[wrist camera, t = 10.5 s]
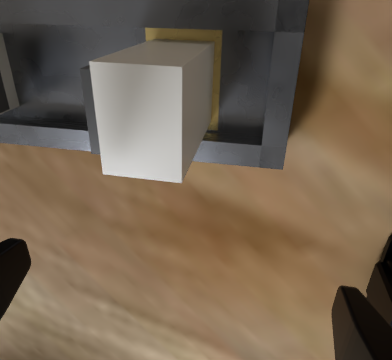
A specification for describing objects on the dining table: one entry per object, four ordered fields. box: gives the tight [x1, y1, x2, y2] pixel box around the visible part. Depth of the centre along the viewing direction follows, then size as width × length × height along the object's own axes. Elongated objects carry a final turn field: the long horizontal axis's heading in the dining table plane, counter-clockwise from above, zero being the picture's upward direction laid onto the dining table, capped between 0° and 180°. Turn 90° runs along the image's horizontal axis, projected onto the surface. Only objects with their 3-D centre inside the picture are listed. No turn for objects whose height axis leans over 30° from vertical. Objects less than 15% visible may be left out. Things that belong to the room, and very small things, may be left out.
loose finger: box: [80, 39, 215, 183], centre depth 14 cm, size 4×4×7 cm
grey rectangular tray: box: [0, 0, 309, 170], centre depth 18 cm, size 21×8×3 cm, turn 89°
